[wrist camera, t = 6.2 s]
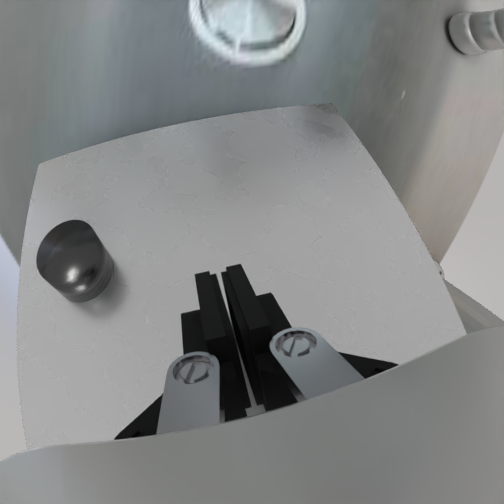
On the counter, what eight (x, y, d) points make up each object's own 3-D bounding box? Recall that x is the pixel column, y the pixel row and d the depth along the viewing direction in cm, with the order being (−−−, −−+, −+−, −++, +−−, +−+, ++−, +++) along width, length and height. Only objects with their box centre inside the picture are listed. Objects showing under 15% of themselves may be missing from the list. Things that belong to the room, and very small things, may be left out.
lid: (465, 365, 12) (503, 348, 10) (45, 474, 9) (4, 477, 7) (329, 114, 21) (336, 79, 18) (45, 174, 18) (26, 142, 15)
